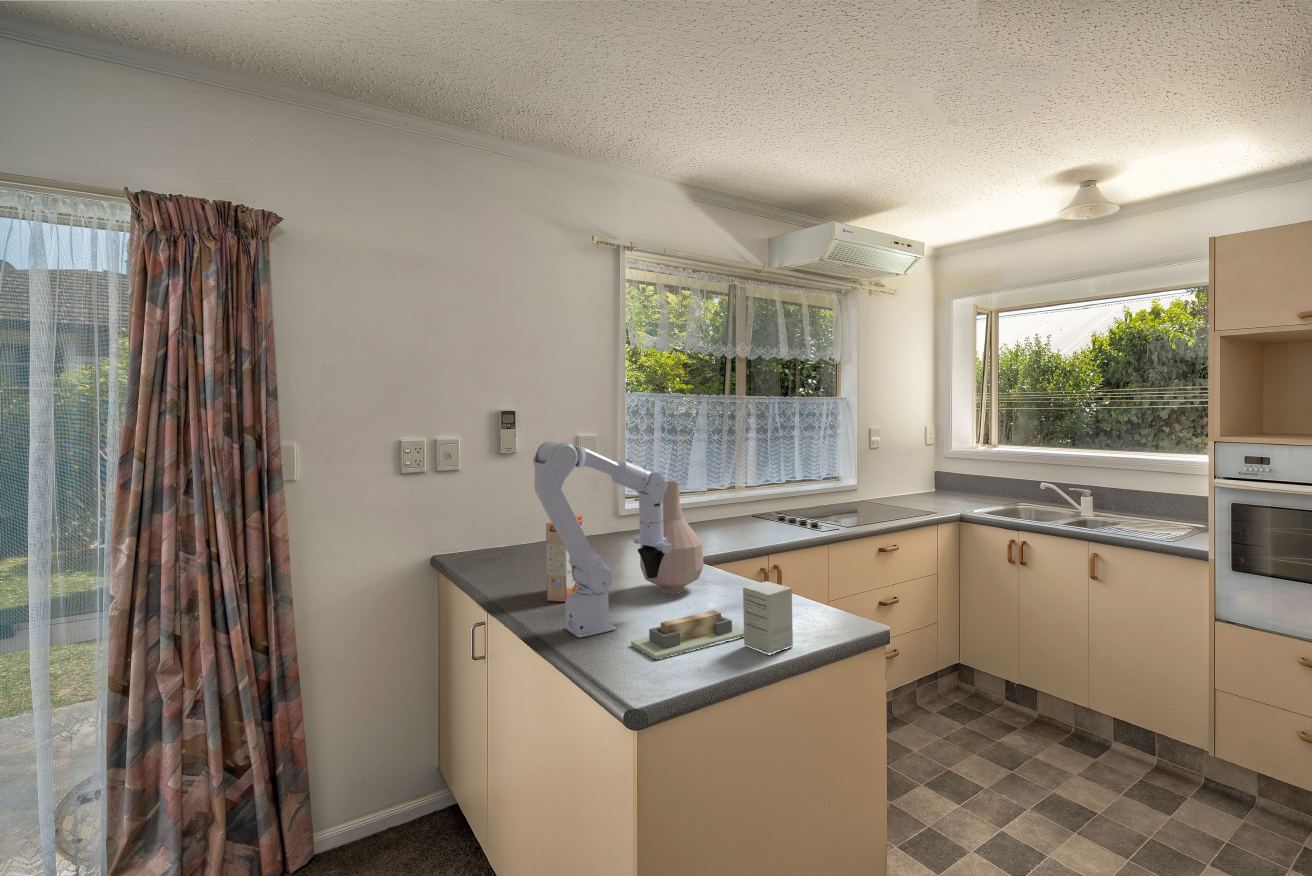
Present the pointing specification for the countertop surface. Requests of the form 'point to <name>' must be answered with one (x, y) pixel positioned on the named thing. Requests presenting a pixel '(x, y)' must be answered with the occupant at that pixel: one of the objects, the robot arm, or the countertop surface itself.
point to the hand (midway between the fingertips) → (652, 577)
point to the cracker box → (558, 566)
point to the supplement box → (767, 616)
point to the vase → (677, 547)
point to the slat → (692, 625)
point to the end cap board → (671, 645)
